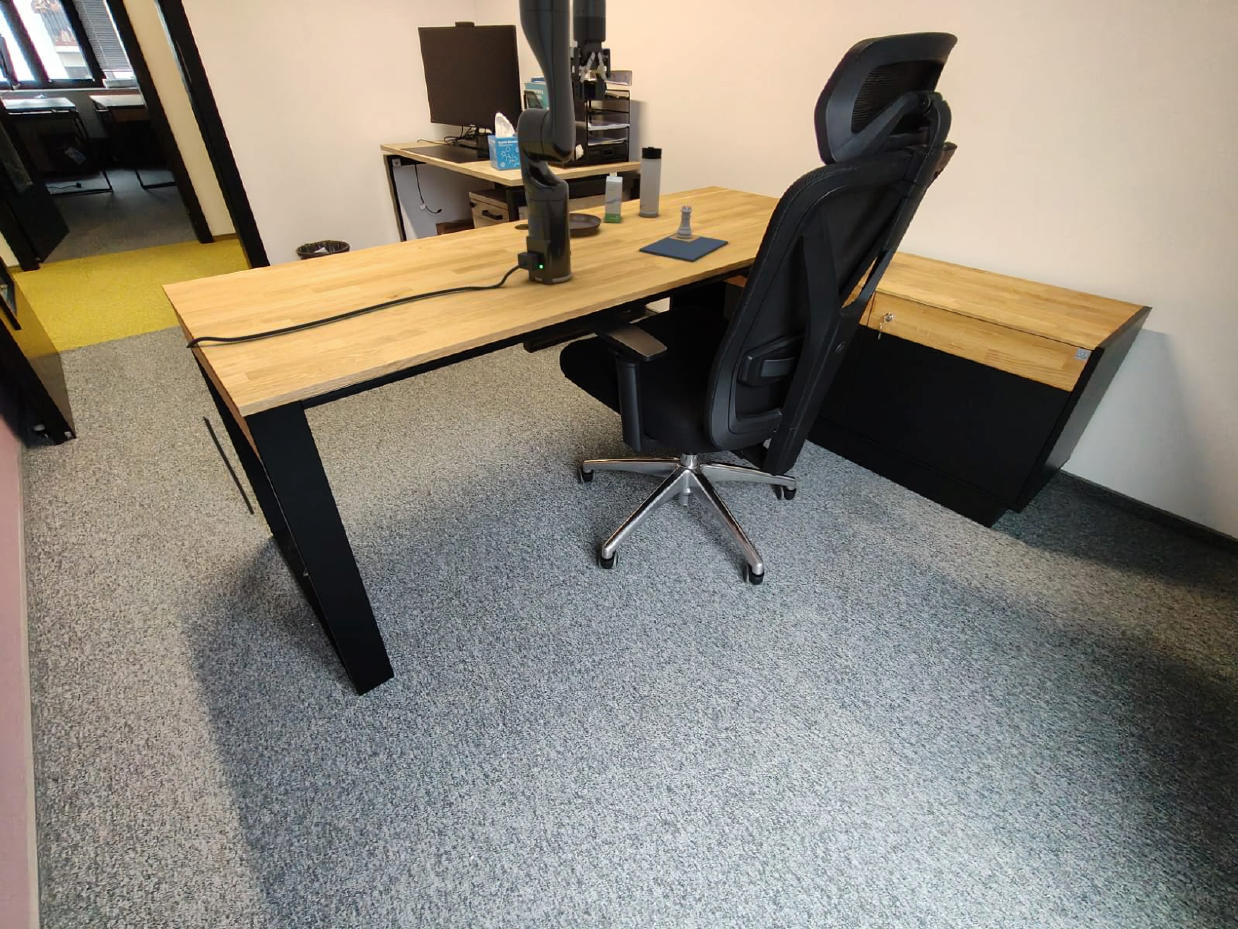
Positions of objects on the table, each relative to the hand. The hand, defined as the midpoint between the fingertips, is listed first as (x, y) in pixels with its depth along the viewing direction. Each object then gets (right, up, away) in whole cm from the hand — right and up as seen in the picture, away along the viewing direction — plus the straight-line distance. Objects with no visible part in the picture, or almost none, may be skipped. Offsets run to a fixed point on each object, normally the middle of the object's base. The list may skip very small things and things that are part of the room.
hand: (590, 100), depth 136 cm
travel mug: (+17, -7, +47) cm, 51 cm away
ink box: (+5, -11, +42) cm, 43 cm away
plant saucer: (-7, -19, +30) cm, 36 cm away
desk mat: (+25, -29, +18) cm, 42 cm away
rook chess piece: (+26, -24, +23) cm, 42 cm away
